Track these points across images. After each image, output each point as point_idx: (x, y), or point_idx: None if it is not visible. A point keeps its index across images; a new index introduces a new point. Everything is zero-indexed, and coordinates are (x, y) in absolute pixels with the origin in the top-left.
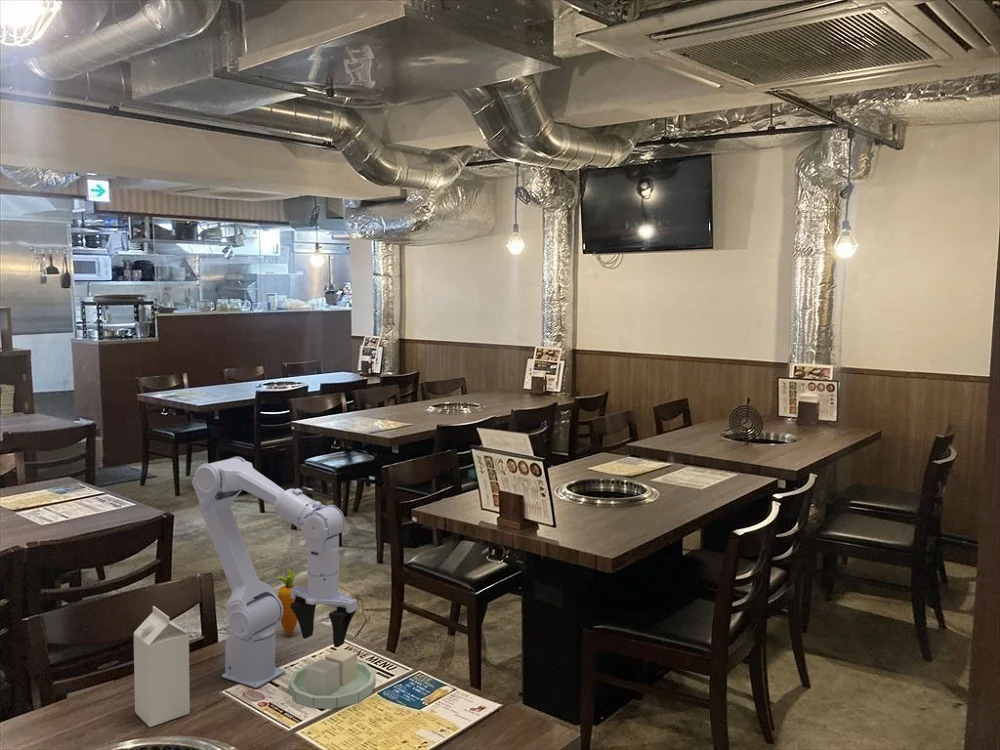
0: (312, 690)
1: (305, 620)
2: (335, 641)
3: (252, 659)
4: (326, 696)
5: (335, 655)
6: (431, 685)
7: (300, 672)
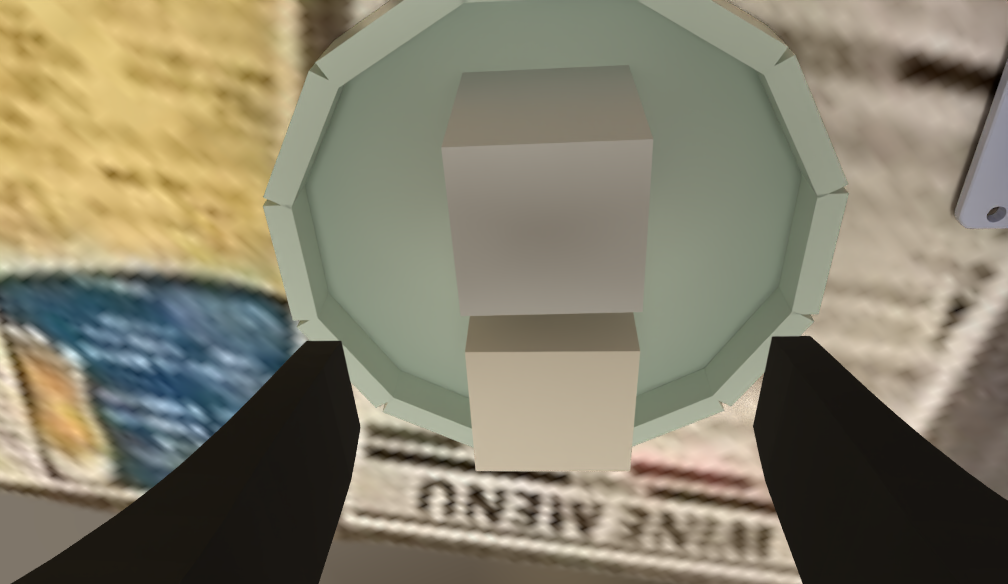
0: (569, 78)
1: (861, 528)
2: (278, 376)
3: None
4: (386, 39)
5: (579, 389)
6: (155, 457)
7: (808, 219)
